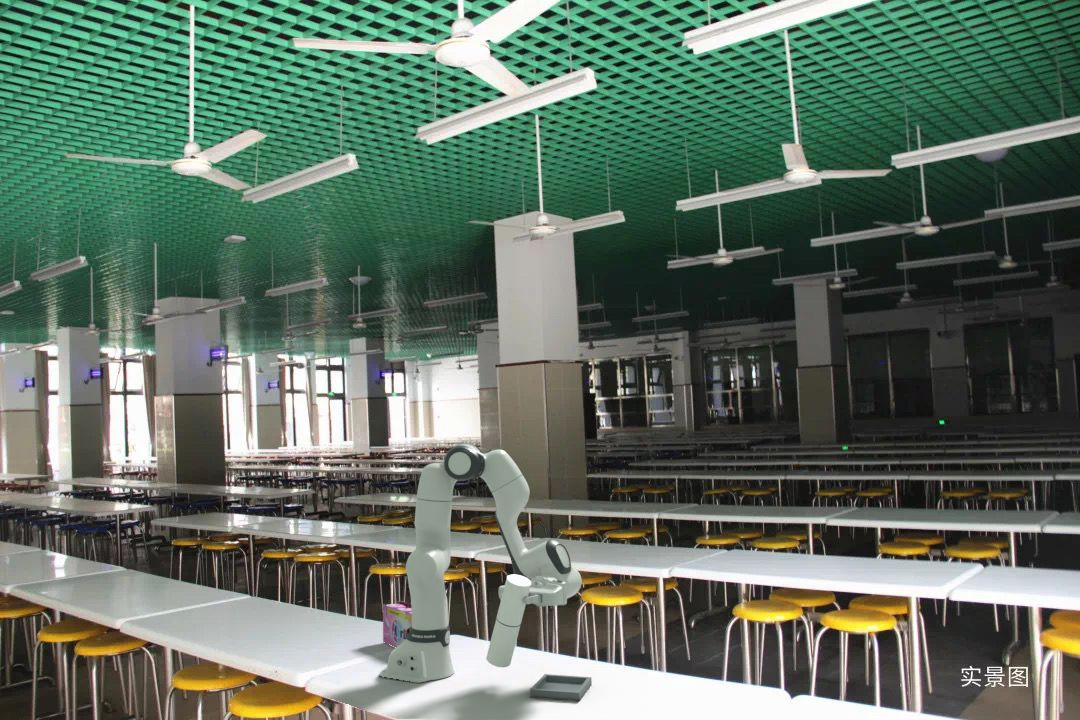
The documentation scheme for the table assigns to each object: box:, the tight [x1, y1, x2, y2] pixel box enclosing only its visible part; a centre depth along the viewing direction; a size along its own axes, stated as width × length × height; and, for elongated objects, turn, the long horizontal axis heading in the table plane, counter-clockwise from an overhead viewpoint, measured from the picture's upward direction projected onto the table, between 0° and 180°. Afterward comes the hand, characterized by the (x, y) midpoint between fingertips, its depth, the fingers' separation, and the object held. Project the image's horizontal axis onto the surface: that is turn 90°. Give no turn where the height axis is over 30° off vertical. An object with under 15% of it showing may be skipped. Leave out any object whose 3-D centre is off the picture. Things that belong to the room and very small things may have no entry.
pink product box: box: [382, 600, 412, 648], centre depth 280 cm, size 24×8×14 cm, turn 38°
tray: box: [529, 673, 593, 702], centre depth 229 cm, size 14×14×2 cm
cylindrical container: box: [486, 573, 531, 668], centre depth 232 cm, size 7×7×25 cm
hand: (513, 599), depth 230 cm, fingers closed on cylindrical container, 7 cm apart
